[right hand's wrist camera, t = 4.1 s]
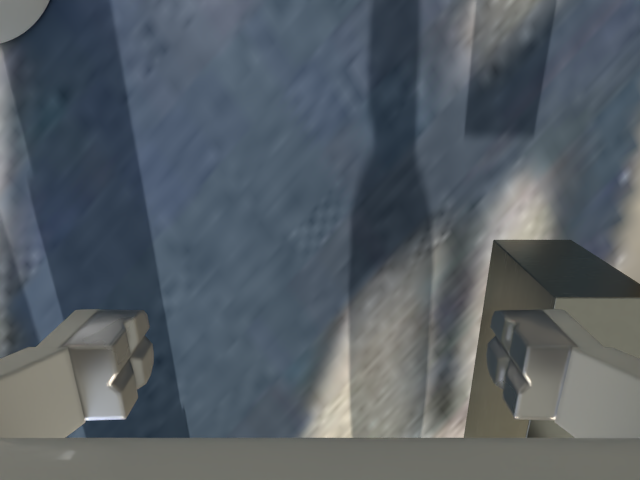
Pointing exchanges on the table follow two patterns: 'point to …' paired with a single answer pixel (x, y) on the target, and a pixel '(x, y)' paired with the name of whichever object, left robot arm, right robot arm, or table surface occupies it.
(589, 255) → the box
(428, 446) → the right robot arm
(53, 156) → the table surface
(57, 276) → the table surface
